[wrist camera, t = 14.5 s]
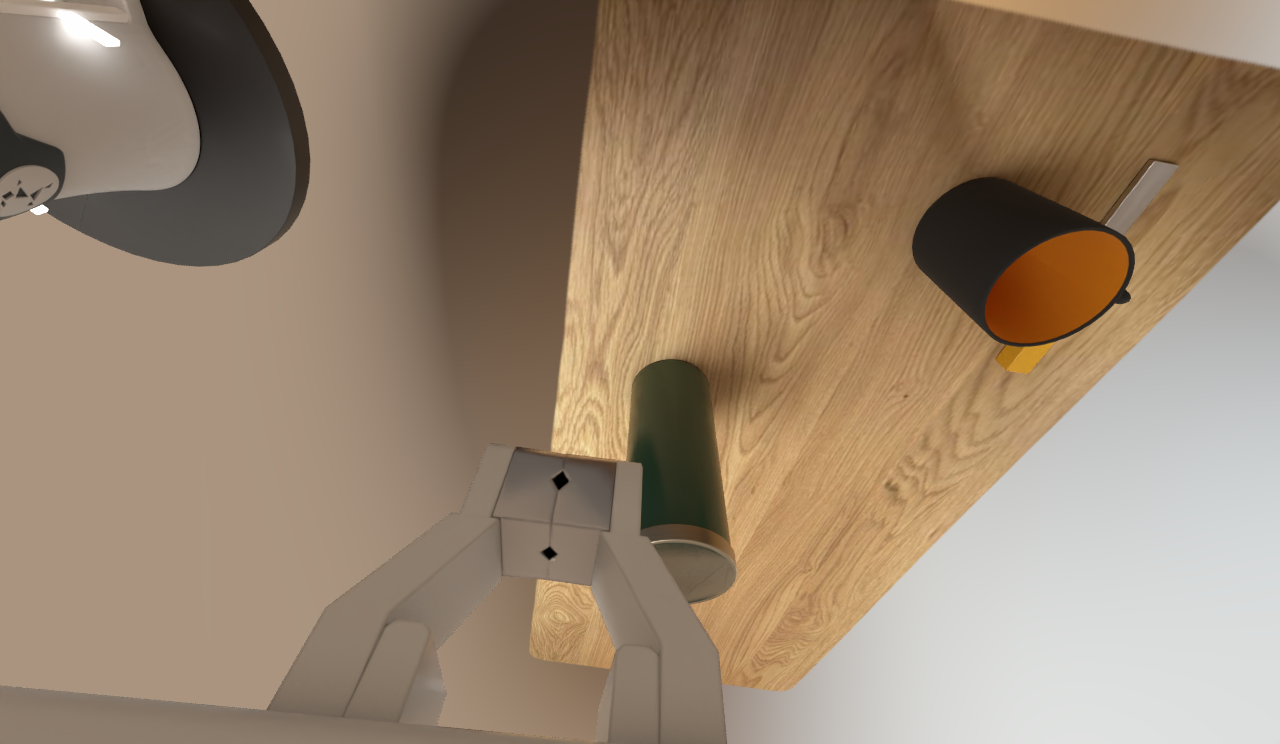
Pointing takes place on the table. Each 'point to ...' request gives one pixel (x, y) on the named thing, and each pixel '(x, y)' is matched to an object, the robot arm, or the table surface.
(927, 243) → the mug
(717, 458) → the canister
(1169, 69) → the table surface
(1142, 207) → the knife
